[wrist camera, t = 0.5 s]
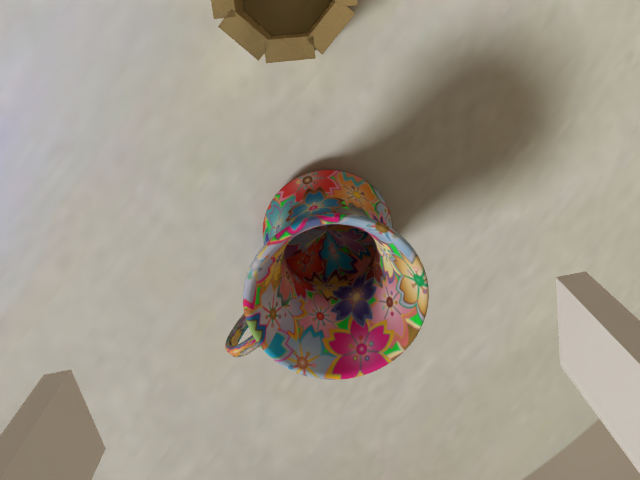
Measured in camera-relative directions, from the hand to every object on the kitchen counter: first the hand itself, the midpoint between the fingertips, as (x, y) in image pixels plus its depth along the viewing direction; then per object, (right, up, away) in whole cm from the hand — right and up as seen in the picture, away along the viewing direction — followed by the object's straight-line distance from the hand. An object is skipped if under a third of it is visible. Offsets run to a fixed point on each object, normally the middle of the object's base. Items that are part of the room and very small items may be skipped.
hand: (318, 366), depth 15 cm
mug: (-1, +4, +23) cm, 23 cm away
